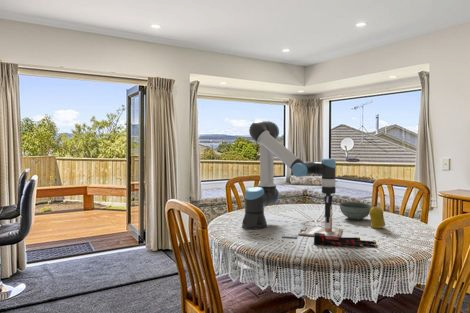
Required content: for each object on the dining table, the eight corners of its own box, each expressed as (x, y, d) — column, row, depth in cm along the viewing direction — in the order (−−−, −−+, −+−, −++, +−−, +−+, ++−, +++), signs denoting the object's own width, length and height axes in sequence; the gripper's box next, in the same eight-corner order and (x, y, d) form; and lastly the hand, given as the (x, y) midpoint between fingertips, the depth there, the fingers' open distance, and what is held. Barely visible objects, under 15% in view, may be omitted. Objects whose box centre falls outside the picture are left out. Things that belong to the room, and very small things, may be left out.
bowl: (355, 214, 241) (355, 200, 240) (379, 220, 222) (379, 205, 222) (332, 217, 232) (332, 203, 232) (355, 224, 213) (355, 208, 213)
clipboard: (298, 235, 189) (298, 232, 189) (304, 226, 207) (304, 223, 207) (339, 239, 181) (339, 235, 181) (342, 230, 199) (342, 227, 199)
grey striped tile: (281, 237, 184) (281, 236, 184) (282, 234, 190) (282, 233, 190) (296, 238, 183) (296, 237, 183) (297, 235, 189) (297, 234, 189)
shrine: (382, 231, 196) (382, 205, 195) (367, 229, 200) (367, 204, 200) (386, 227, 205) (386, 202, 204) (372, 225, 210) (372, 201, 209)
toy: (374, 247, 172) (313, 241, 178) (375, 237, 172) (314, 232, 177) (378, 252, 164) (314, 246, 169) (379, 242, 164) (315, 236, 169)
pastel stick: (324, 231, 192) (324, 206, 192) (325, 229, 196) (325, 205, 196) (331, 232, 191) (331, 207, 190) (332, 230, 195) (332, 205, 194)
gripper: (334, 188, 183) (333, 231, 184) (336, 184, 199) (336, 224, 200) (319, 187, 186) (319, 230, 187) (323, 184, 202) (323, 223, 203)
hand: (328, 227), depth 193 cm, fingers closed on pastel stick, 4 cm apart
